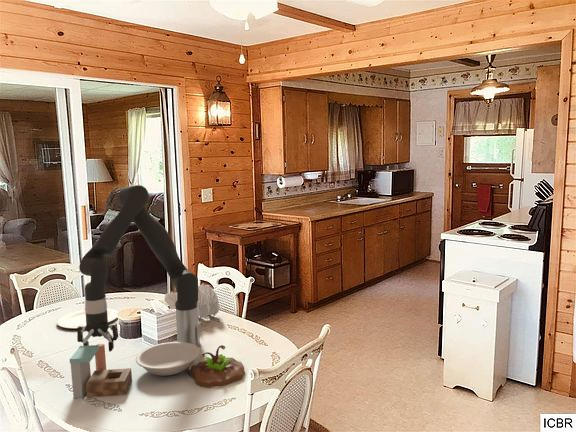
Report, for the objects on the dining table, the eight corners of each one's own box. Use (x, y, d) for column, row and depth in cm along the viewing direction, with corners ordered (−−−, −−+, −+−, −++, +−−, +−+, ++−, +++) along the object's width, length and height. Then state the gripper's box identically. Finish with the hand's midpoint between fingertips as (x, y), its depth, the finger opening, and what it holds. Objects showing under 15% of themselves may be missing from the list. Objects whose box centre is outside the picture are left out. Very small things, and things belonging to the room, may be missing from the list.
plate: (98, 307, 260) (98, 304, 259) (131, 317, 243) (130, 314, 242) (45, 324, 236) (45, 320, 236) (77, 336, 219) (77, 332, 219)
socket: (132, 380, 174) (131, 368, 173) (125, 394, 164) (124, 381, 164) (95, 383, 173) (94, 370, 172) (87, 397, 163) (86, 383, 162)
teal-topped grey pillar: (101, 382, 173) (98, 344, 172) (92, 397, 163) (89, 357, 161) (83, 383, 173) (80, 346, 171) (73, 399, 162) (69, 359, 160)
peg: (107, 373, 181) (105, 343, 179) (105, 377, 177) (103, 347, 176) (98, 373, 180) (95, 344, 179) (95, 378, 177) (93, 347, 175)
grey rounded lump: (219, 323, 242) (178, 335, 224) (200, 302, 252) (159, 312, 234) (229, 295, 235) (187, 305, 217) (209, 274, 245) (168, 282, 227)
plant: (252, 379, 174) (251, 351, 172) (200, 392, 165) (199, 362, 164) (234, 359, 192) (233, 332, 190) (186, 369, 183) (185, 342, 182)
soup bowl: (131, 365, 187) (129, 349, 186) (189, 352, 198) (188, 337, 198) (144, 391, 166) (143, 374, 165) (209, 374, 178) (208, 358, 177)
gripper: (118, 305, 180) (120, 346, 182) (79, 307, 178) (82, 348, 181) (113, 312, 172) (115, 354, 175) (72, 314, 171) (75, 356, 173)
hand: (98, 351), depth 178 cm, fingers open, 8 cm apart
